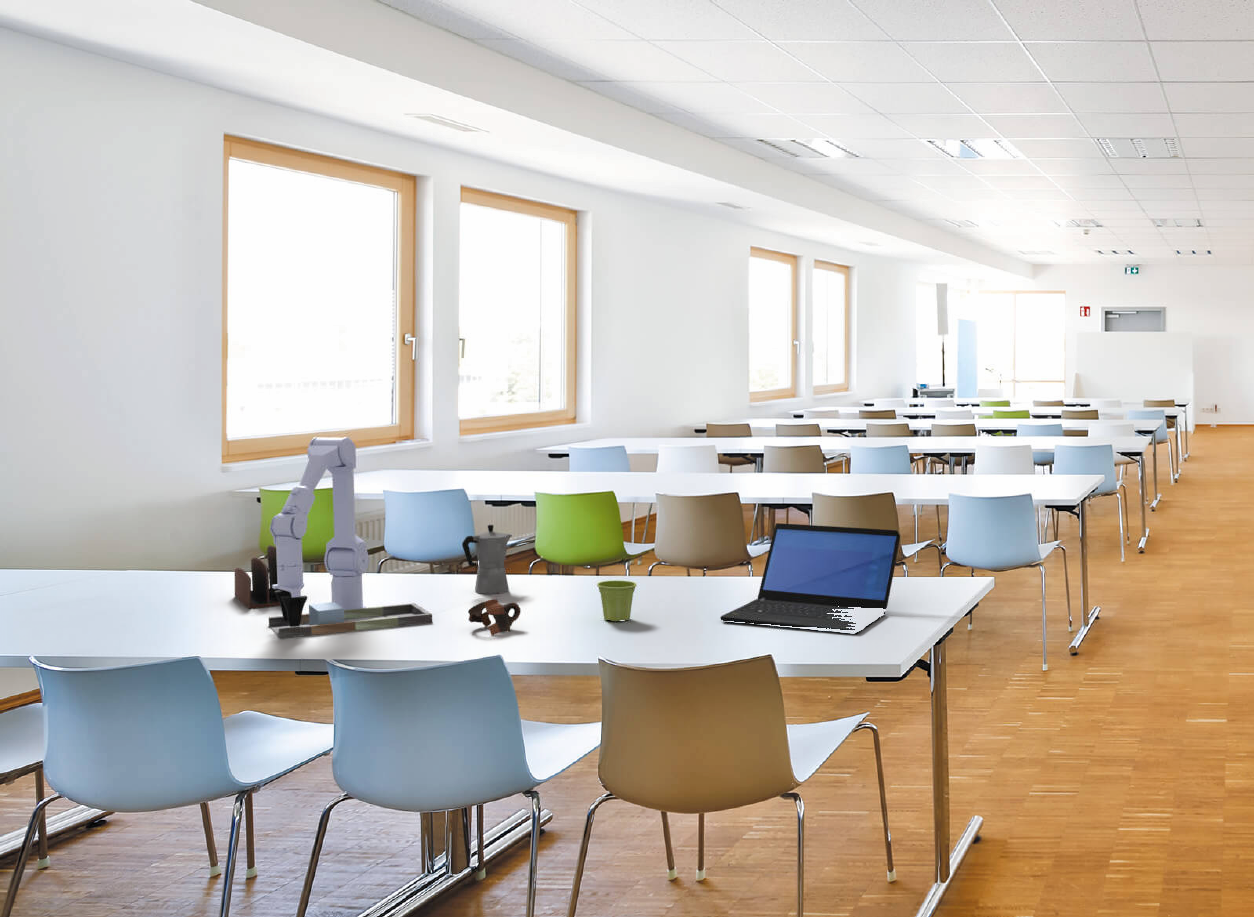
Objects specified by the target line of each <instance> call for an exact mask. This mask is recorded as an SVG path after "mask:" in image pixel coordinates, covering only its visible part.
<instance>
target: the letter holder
mask: <svg viewBox="0 0 1254 917" xmlns="http://www.w3.org/2000/svg"><path fill="white" fill-rule="evenodd" d="M266 552H267V564H266V563H265V562H264V561H263V560H262V559H260V558H259V557H255V556H254V557H253V556H252V558H251V560H250V565H251V567H250V568H251V577H250V575H249V574H248V572H246V571H245V569H244V568H240V567H236V568H234V597H235V598H236V599H237V600H238V601H240V603H242V604H243V605H244V606H245V607H246V608H248V609H250V610H253V609H263V608H265V609H266V608H271V607H272V608H274V607H281V606H280V602H279V600H278V597H277V596H276V594H275V591H277V590H281V589H273V588H272V585H275V584H278V581H277V553H276V545H272V544H271V545H267V548H266Z"/></svg>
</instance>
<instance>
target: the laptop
mask: <svg viewBox="0 0 1254 917" xmlns="http://www.w3.org/2000/svg"><path fill="white" fill-rule="evenodd" d="M900 540H901V534H900V533H899V531H898V530H894V529H879V528H864V527H863V528H862V527H850V526H849V527H848V526H847V527H846V526H833V525H832V526H831V525H816V524H815V525H814V524H801V523H800V524H799V523H798V524H797V523H780V522H776V523H775V525H774V529H773V533H772V537H771V541H770V546H769V548H768V553H767V557H766V562H765V565H764V569H763V573H762V578H761V582H760V586H759V590H758V595H757V598H756V599H754V600H752V601H750V602H748V603H746V604H744V605H741V606H740V607H737V608H735V609H733V610H731V611H729V612H727V613H724V614H722V615H721V616H720V618H719V619H720V620H721V621H722V620H723V621H722V622H724V621H734V622H745V623H754V624H771V625H780V626H792V627H817V628H826V629H827V628H829V629H830V628H831V629H840V630H855V629H852V628H850V629H849V628H846V627H855V626H851V625H848V624H856V623H853V622H849V621H841V620H845V619H841V618H833V619H832V617H837V616H838V617H842V616H841V615H835V616H834V614H827V613H841V611H842V610H841V611H838V610H836V611H835V612H834V611H833V610H832V609H834V610H835V609H854V608H848V607H861V608H883V609H886V608H887V609H888V605H889V599H890V594H891V588H892V584H893V579H894V578H893V577H894V572H895V568H896V564H897V558H898V552H899V546H900ZM838 606H839V607H838ZM842 613H848V612H842ZM844 617H852V616H847V615H845V616H844ZM839 619H841V620H839ZM850 620H851V619H850Z"/></svg>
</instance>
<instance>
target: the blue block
mask: <svg viewBox="0 0 1254 917" xmlns="http://www.w3.org/2000/svg"><path fill="white" fill-rule="evenodd" d="M308 613H309V625H308V626H310V625H320V624H330V623H340V622H345V619H344V608H343V607H341V606H340V605H338V604H336V603H335V602H332V601H331V602H321V603H320V602H319V603H311V604H310V603H309V604H308Z"/></svg>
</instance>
